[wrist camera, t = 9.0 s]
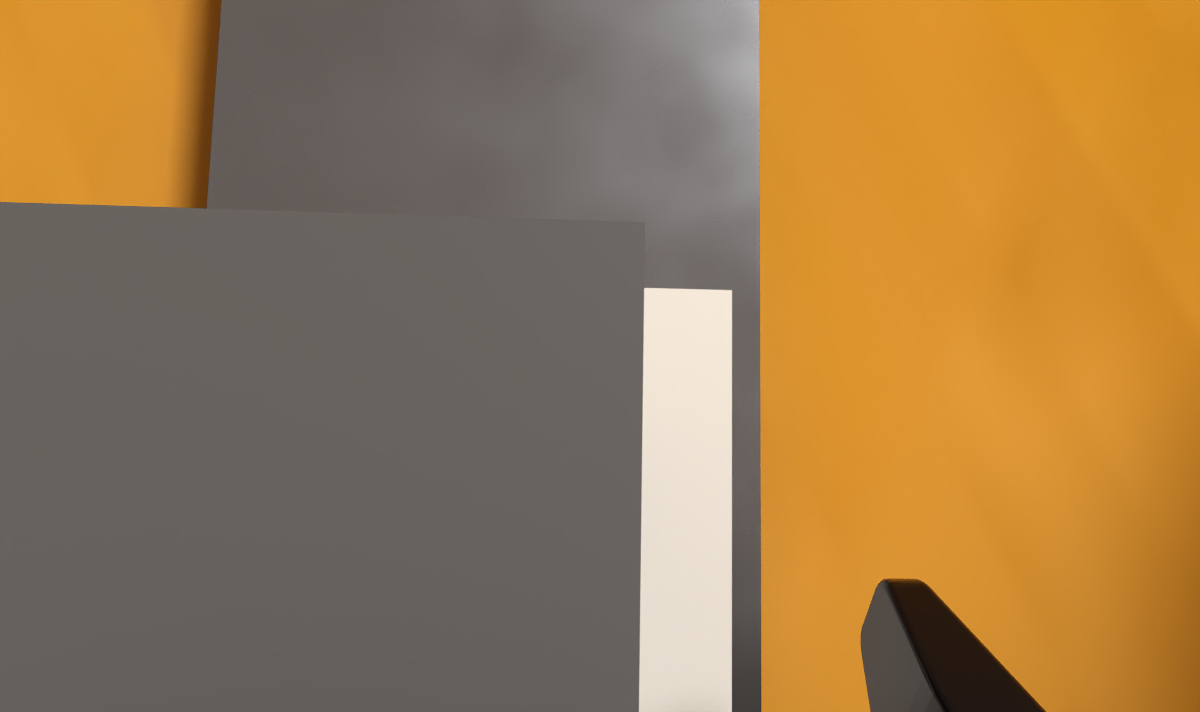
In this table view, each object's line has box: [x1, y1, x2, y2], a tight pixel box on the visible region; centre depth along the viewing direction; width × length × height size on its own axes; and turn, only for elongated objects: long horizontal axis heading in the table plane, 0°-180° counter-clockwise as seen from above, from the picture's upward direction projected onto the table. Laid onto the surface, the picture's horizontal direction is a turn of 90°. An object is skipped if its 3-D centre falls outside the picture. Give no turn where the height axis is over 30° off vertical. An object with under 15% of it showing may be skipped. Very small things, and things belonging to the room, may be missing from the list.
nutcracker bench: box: [207, 0, 761, 712], centre depth 14 cm, size 22×9×5 cm, turn 179°
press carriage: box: [0, 202, 732, 712], centre depth 9 cm, size 6×9×11 cm
